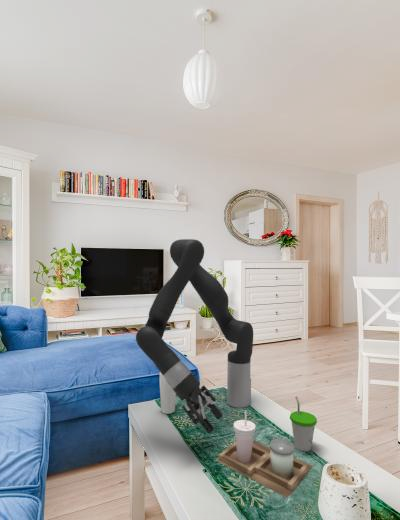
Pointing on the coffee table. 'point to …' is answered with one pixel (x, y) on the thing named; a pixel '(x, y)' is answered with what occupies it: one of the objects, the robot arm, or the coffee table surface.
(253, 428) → the smoothie
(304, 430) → the cup
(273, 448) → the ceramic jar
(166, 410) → the drinking glass
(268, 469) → the walnut tray
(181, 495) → the coffee table surface
